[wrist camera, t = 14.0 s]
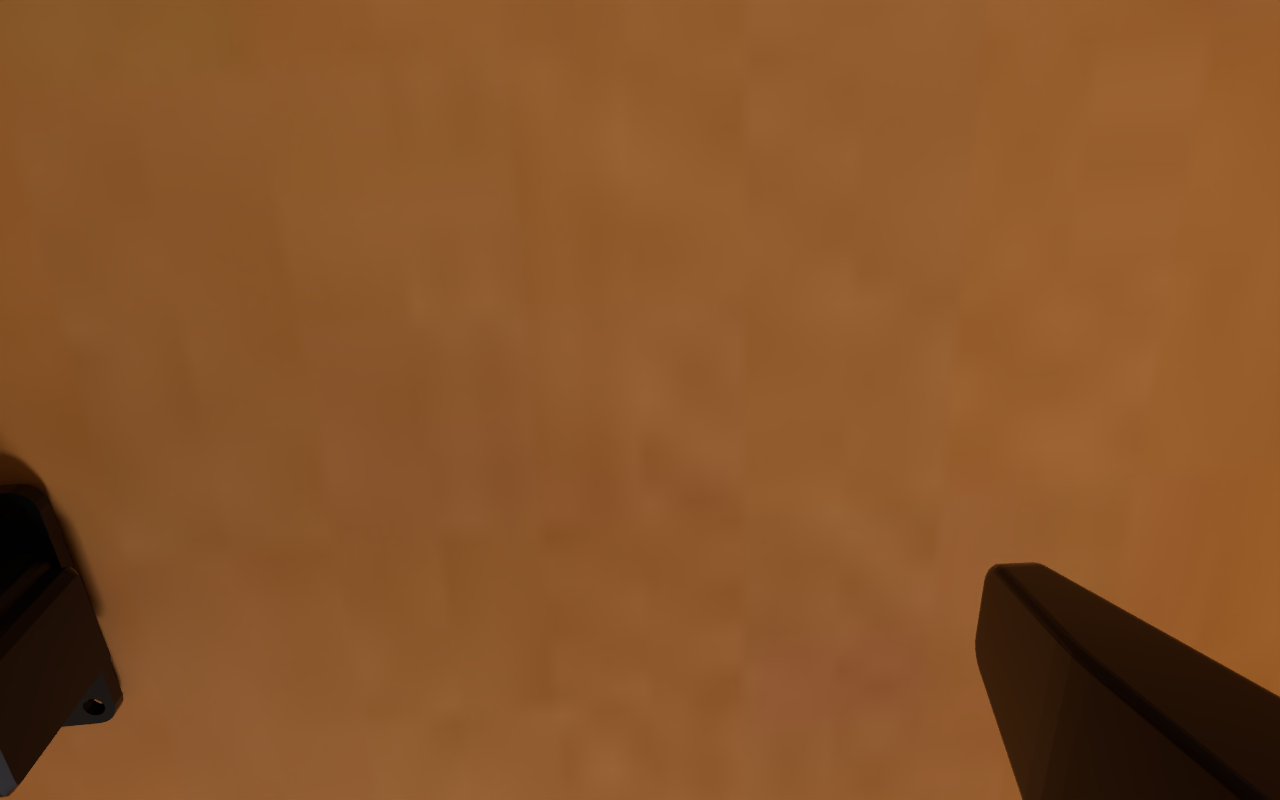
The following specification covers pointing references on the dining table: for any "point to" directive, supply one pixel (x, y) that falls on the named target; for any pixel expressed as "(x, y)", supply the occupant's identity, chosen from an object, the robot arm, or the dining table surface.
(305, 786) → the dining table surface
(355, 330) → the dining table surface
